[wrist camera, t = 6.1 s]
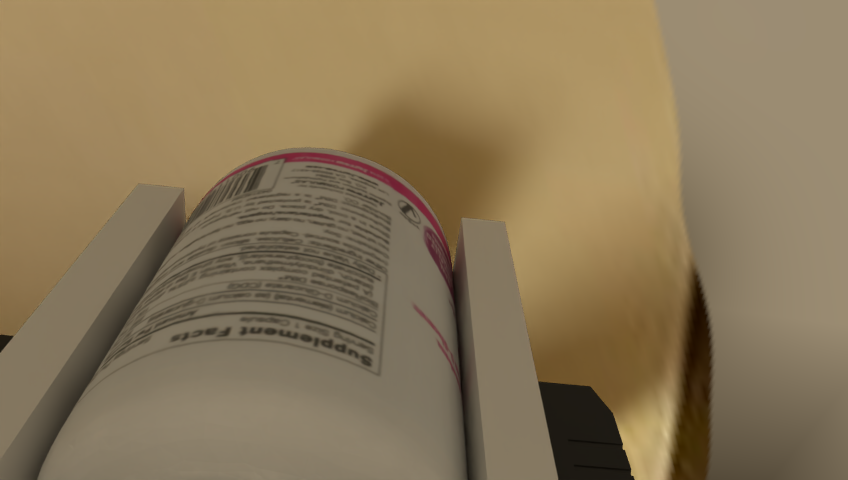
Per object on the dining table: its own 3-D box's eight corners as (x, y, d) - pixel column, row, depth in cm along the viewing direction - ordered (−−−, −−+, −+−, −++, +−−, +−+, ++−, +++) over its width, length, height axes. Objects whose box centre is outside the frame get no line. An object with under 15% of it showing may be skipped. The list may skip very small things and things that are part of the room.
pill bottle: (444, 367, 14) (465, 929, 7) (206, 357, 14) (-31, 921, 7) (462, 144, 12) (523, 642, 5) (175, 131, 12) (-234, 618, 4)
